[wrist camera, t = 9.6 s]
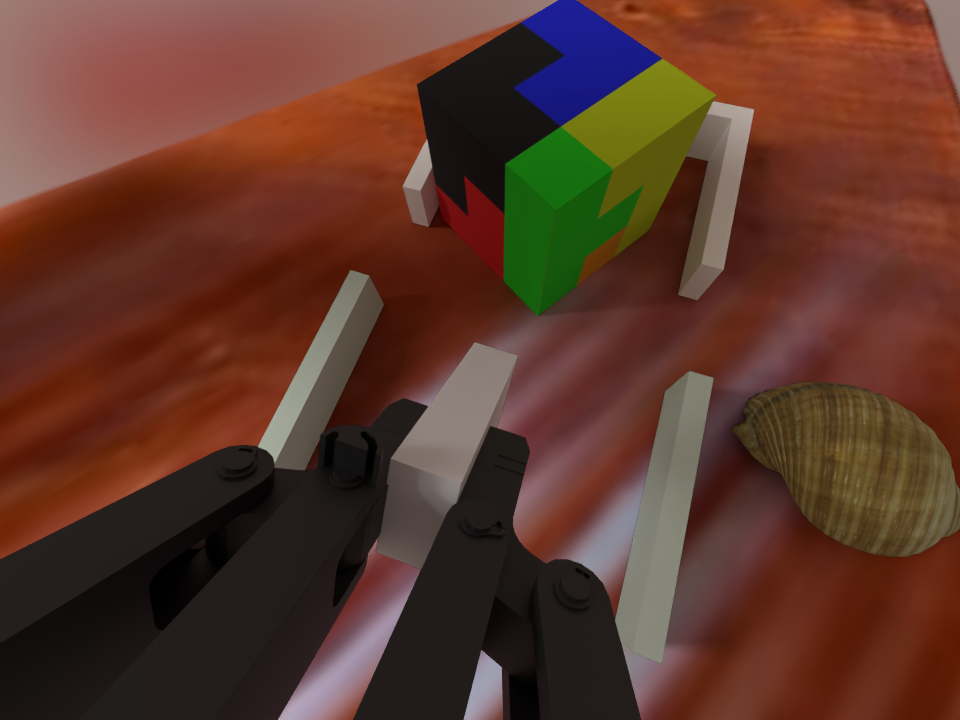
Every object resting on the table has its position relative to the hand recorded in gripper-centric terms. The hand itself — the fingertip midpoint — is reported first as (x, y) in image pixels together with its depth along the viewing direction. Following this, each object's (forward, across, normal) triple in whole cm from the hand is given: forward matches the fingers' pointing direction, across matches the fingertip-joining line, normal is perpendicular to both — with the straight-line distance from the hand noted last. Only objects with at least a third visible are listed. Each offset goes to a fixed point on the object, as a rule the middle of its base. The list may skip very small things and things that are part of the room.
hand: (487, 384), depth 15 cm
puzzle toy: (+19, -1, +3) cm, 19 cm away
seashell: (+11, +17, -5) cm, 21 cm away
